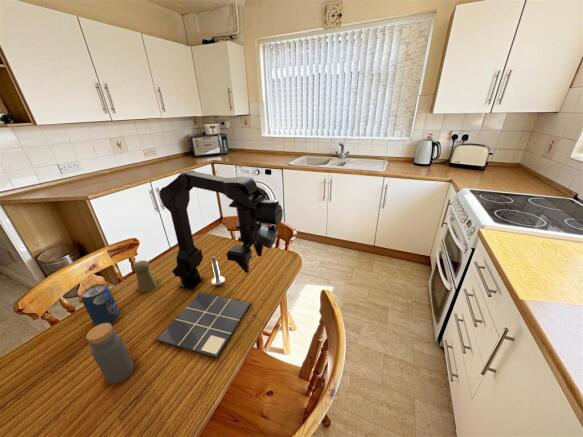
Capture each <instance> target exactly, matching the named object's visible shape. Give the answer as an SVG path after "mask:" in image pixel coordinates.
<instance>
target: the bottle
mask: <svg viewBox="0 0 583 437" xmlns="http://www.w3.org/2000/svg"><path fill="white" fill-rule="evenodd" d="M112 326H113V325H112V323H111V324H109V323H103V324H100V325H95V326H94V327H93V328H91V329H90V330H89V331H88V332H87V334H86V340H87V341H88V347H89V348H90V349H91V350H90V353H91V356H92V358H93V359H94V361H95V362H96V364H97V367H98V368H99V369H100V371H101V373H102V375H103V376H104V378H105V380H106V381H107V383H109V384H112V385H115V384H119V383H121V382H123V381H125V380H126V379H127V378H128V377H129V376H130V375H131V374H132V372H133V370H134V367H135V365H134V361H133V360H132V358H131V356H130V353H129V351H128V349H127V347H126V345H125V343H124V341H123V339H122V337H121V336H120V335H119V334H117V331H116V330H115V328H114V327H112Z"/></svg>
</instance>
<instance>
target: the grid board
mask: <svg viewBox="0 0 583 437" xmlns="http://www.w3.org/2000/svg"><path fill="white" fill-rule="evenodd" d="M250 306H251V303H250V302H246V301H240V300H236V299H232V298H227V297H223V296H219V295H213V294H208V293H204V292H199V293H198V294H197V295H196V296H195V297H194V298H193V299H192V300H191V302H189V304H188V305H187V306H186V307H185V308H184V309H183V310H182V311H181V313H179V315H178V316H177V317H176V318H175V319H174V320H173V321H172V322H171V323H170V324H169V325H168V327H166V329H165V330H164V331H163V332H162V333H161V334H160V336H158V338H157V339H156V341H157V342H161V343H163V344H167V345H170V346H174V347H177V348H181V349H183V350H187V351H190V352H194V353H197V354H200V355H203V356H207V357H211V358H214V359H218V358H219V356H220V354H221V353H222V351H223V350H224V348H225V347H226V345H227V343H228V342H229V340H230V338H231V337H232V335H233V333H234V332H235V330H236V328H237V327H238V326H239V324H240V322H241V320H242V318H243V317H244V316H245V314H246V312H247V310H248V309H249V307H250Z"/></svg>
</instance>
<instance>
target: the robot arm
mask: <svg viewBox="0 0 583 437" xmlns="http://www.w3.org/2000/svg"><path fill="white" fill-rule="evenodd" d="M193 188H197V189H201V190H206V191H209V192H213V193H219V194H222V195H224V196H225V197H226V198H227V199H229V200H232V201H231V202H230V204H229V205H228V207H229V208H235V210H236V215H237V216H236V217H237V223H238V224H237V225H236V226H235V229H236V230H239V235H240V236H239V237H237V241H238V242H240V243H242V245H238V244H234V245H233V246H232V247H231V248H230V249H229V250H228V251H227V252H226V254H225V255H226V259H227V261H232V262H235V263H236V264H237V265H238V266H239V267H240V268H241V269H242V271H243V272H244V273H245V274H249V272H250V260H251V259H252V258H253V255H252V254H253V252H252V249H251V248H252V247H254V250H255V253H256V255H257V257H260V258H261V257H262V255H263V249H264V247H265V248H267V249H271V248H272V247H273V246H274V245H275V243H276V241H277V238H278V236H279V231H278V226H280V224H281V223H282V220H283V216H284V209H283V208H282V205H281V204H280V201H279V200H275V199H273V200H267V199H266V196H265V194H264V193H263V192H262V191H261V189H260V188H259V187H258V185H257V182H255V180H254V178H252V177H250V176H235V177H224V176H219V175H216V174H209V173H204V172H200V171H196V170H193V169H189V170H187V171H184V172H181V173H179V175H178V176H177V177H176V178H175V179H174V180H172V181H171V182H170V183H168V184H167V185H166V186H163V187H161V188H160V190H159V191H158V192H159V193H158V194H159V198H160V200H161V203H162V206H163V207H164V208H165V209H166V210H167V211H169V213H170V217H171V221H172V225H173V229H174V233H175V237H176V241H177V245H178V246H177V247H178V252H177V255H176V266H175V268H173V270H172V274H173V275H174V277H178V278H179V279H180V282H181V283H180V284H179V285H178V287H179V288H180V289H185V290H190V291H193V290H195V289H196V288H197V287H198V285H200V284H201V283H202V281H203V280H204V278H203V277H201V275H200V272H199V269H198V267H199V266H200V265H201V263H202V262H203V260H204V256H203V250H202V249H201V248H198V247H197V246H195V244H194V243H195V242H194V239H193V232H192V228H191V224H190V218H189V213H188V206H189V204H190V203H189V202H190V200H191V199H190V198H191V197H190V192H191V190H192V189H193ZM253 196H254V197H253ZM252 197H253V198H252ZM250 198H252V199H250Z"/></svg>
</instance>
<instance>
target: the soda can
mask: <svg viewBox="0 0 583 437" xmlns="http://www.w3.org/2000/svg"><path fill="white" fill-rule="evenodd" d="M81 302H82V304H83V306H84V308H85V310H86V312H87V314H88V315H89V318H90V320H91V321H92V324H94V326H97V325H100V324H103V323H109V324H111V325H112V324H113V323H114V322H115V321H117V319H118V318H119V314H120V309H119V307H118V305H117V302H116V300H115V298H114V296H113V294H112V292H111V289H110V288H109V287H108V286H106V284H103V283H99V284H95V285H92V286H90V287H88V288H86V289H85V290H84V291H82V294H81Z"/></svg>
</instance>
